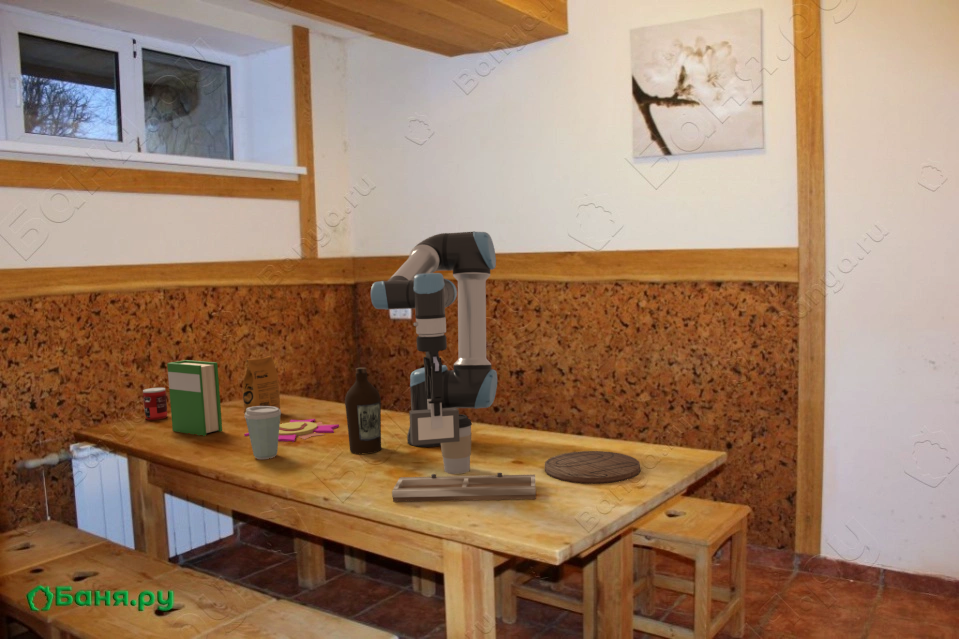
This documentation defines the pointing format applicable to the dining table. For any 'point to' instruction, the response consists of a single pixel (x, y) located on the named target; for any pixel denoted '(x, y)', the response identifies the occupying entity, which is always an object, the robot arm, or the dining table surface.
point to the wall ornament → (302, 429)
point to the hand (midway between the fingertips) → (435, 425)
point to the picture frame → (426, 435)
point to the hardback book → (194, 397)
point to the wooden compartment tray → (464, 488)
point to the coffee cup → (458, 449)
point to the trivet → (592, 467)
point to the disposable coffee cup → (263, 430)
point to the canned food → (155, 403)
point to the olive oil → (363, 415)
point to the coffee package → (261, 384)
